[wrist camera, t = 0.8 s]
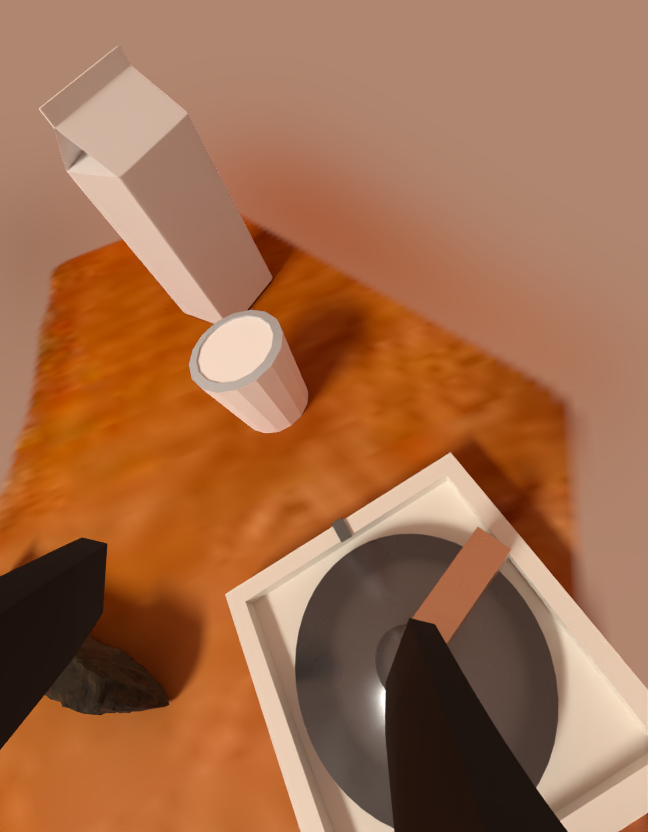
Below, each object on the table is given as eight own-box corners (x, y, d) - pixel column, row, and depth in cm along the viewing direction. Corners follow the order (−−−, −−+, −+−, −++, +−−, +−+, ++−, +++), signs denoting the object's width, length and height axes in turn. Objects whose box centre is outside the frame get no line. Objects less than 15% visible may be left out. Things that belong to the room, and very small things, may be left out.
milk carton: (274, 279, 40) (150, 39, 24) (231, 331, 38) (67, 107, 22) (226, 267, 43) (90, 50, 28) (185, 314, 41) (14, 110, 26)
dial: (451, 922, 15) (447, 993, 12) (256, 668, 22) (221, 671, 18) (615, 643, 18) (646, 641, 15) (397, 489, 24) (387, 465, 21)
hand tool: (-27, 629, 30) (-98, 626, 27) (6, 575, 32) (-57, 566, 28) (152, 757, 23) (87, 780, 19) (184, 678, 24) (131, 684, 20)
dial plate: (695, 759, 16) (727, 774, 14) (365, 972, 16) (351, 1017, 14) (452, 462, 25) (451, 446, 23) (238, 596, 25) (219, 592, 23)
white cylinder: (235, 381, 35) (189, 327, 29) (309, 356, 33) (277, 295, 28) (238, 450, 31) (186, 405, 25) (322, 425, 30) (287, 371, 24)
